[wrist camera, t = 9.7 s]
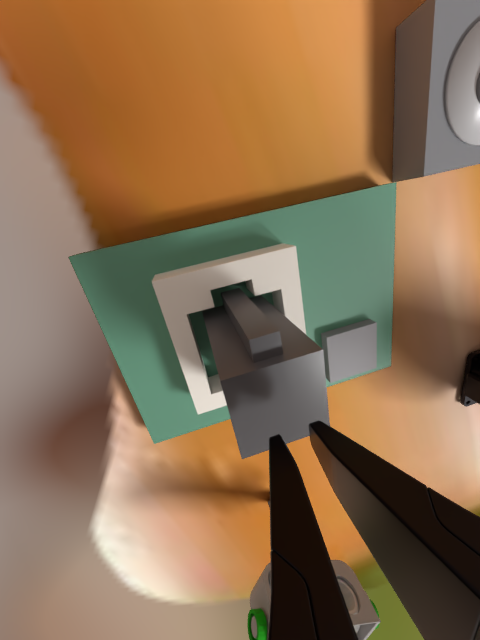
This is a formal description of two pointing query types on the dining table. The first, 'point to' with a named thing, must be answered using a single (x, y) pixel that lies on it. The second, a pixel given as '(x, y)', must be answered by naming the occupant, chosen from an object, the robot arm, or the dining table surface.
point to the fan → (437, 89)
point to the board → (254, 280)
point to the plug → (265, 371)
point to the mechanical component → (353, 593)
